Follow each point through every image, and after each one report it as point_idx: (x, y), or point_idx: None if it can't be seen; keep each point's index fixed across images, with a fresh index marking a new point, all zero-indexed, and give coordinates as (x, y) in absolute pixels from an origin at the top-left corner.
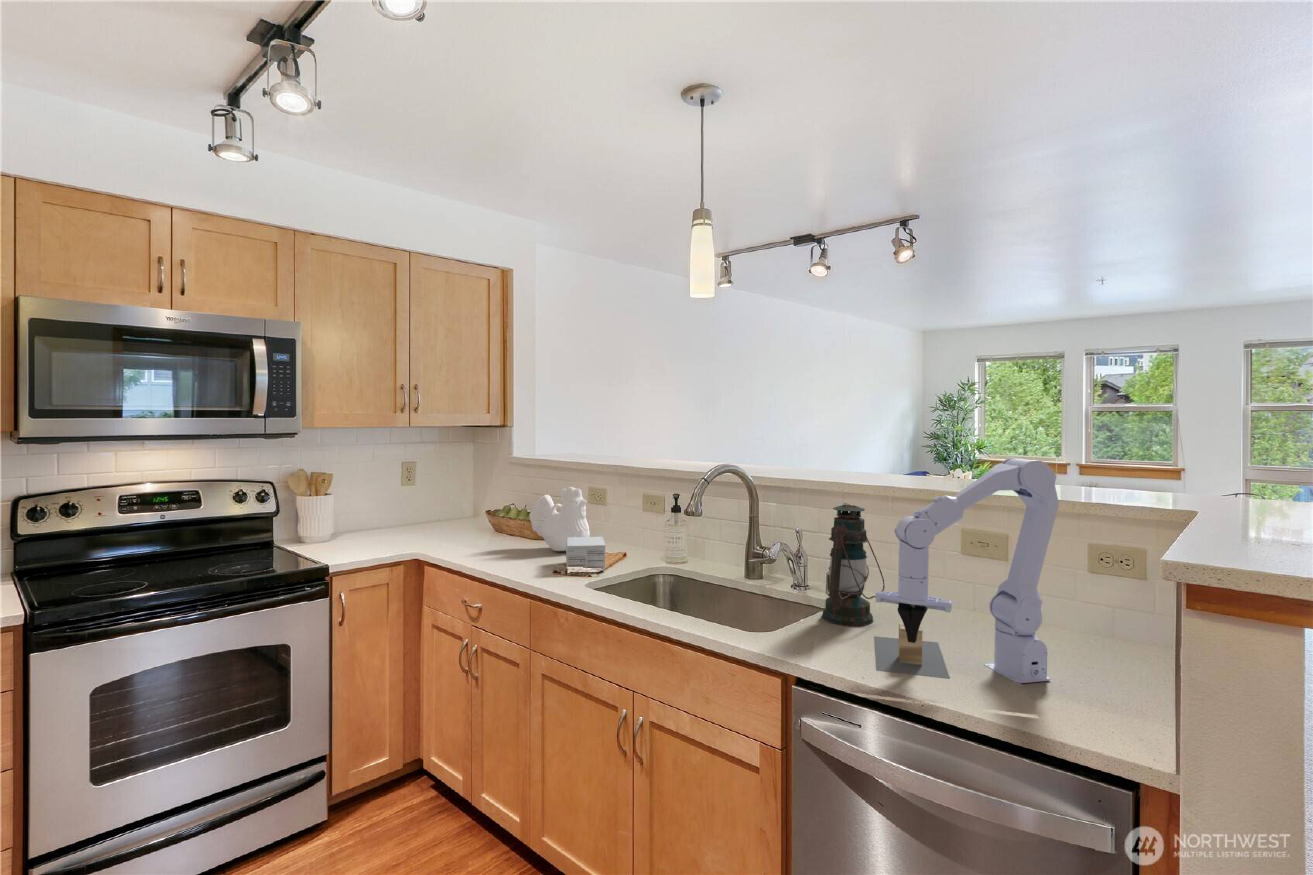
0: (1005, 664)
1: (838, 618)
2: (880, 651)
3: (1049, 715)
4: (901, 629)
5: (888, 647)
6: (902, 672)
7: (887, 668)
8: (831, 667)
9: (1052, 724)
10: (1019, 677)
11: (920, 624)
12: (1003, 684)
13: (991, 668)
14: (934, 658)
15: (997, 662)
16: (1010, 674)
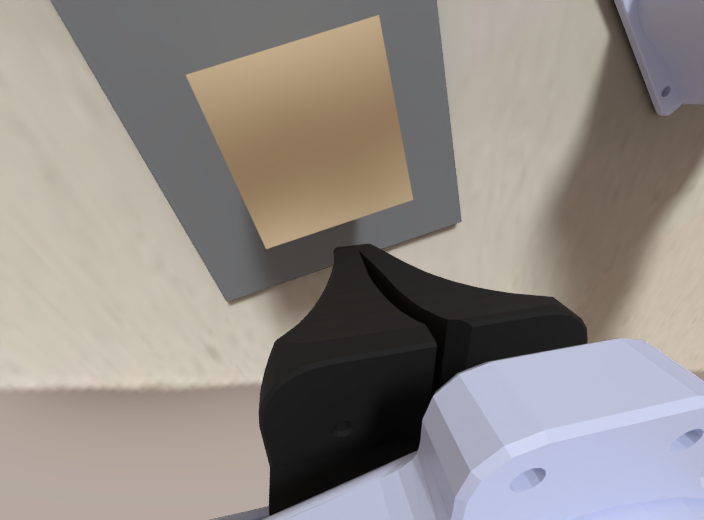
0: (698, 43)
1: None
2: (118, 56)
3: (651, 285)
4: (275, 244)
5: None
6: (311, 265)
7: (252, 262)
8: (73, 345)
9: (638, 322)
10: (690, 99)
11: (378, 28)
12: (613, 141)
13: (622, 4)
14: (393, 1)
15: (675, 11)
16: (672, 63)
